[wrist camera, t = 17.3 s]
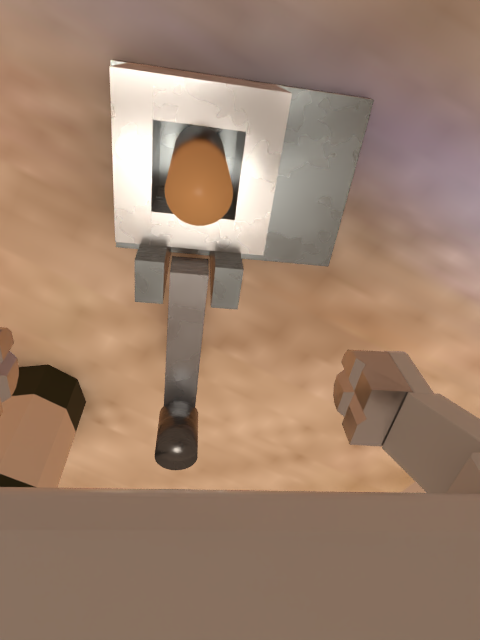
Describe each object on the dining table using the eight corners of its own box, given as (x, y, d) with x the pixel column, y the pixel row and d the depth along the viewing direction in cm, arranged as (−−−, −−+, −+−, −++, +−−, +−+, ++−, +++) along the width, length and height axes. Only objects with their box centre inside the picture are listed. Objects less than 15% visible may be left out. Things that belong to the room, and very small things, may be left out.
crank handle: (212, 259, 28) (214, 309, 23) (196, 407, 36) (195, 470, 30) (167, 255, 28) (159, 305, 22) (161, 405, 35) (154, 469, 30)
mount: (368, 98, 30) (427, 116, 22) (325, 260, 37) (357, 318, 29) (113, 59, 28) (78, 65, 20) (118, 241, 35) (93, 298, 27)
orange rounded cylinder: (221, 179, 31) (229, 228, 23) (173, 174, 31) (163, 222, 23) (226, 128, 29) (237, 161, 21) (175, 121, 29) (165, 153, 21)
